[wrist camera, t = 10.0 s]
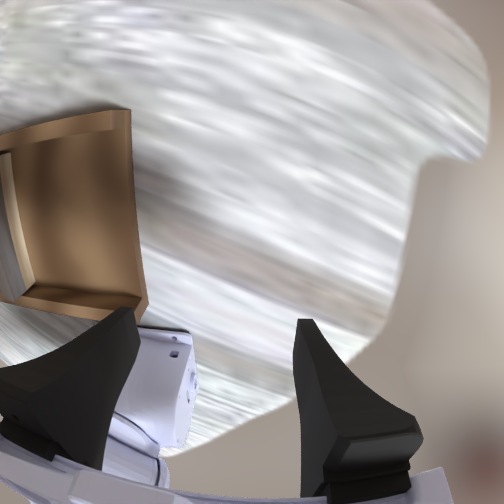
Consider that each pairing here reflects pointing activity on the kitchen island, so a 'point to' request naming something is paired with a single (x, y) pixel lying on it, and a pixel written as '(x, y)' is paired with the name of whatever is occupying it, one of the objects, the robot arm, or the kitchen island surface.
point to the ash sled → (12, 239)
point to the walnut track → (79, 214)
